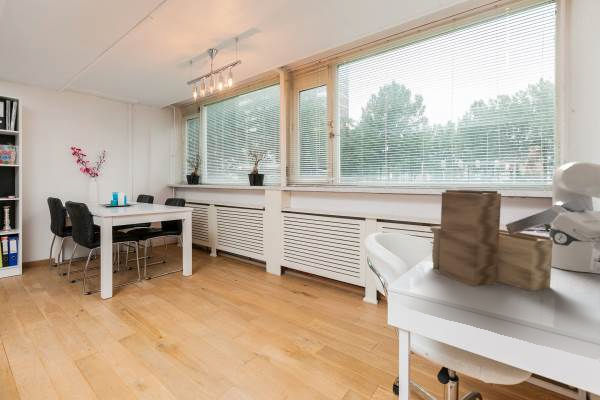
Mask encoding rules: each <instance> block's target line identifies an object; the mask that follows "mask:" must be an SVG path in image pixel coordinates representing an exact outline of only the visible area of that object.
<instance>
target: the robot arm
mask: <svg viewBox="0 0 600 400" xmlns="http://www.w3.org/2000/svg"><path fill="white" fill-rule="evenodd" d="M551 198H552V202H551V203H552V207H551V208H552V210H553V211H554V212H556V213H557V214H558V215H557V217H556V218H555V219H554V220H553V222H551V225H550V226H551V227H549V231H548V233H549V234H548V237H551V239H552V240H553V245H552V262H551V268H557V269H561V270H567V271H573V272H579V273H581V272H582V273H590V274H591V273H593V274H599V275H600V210H594V206H593V204H594V203H593V198H596V199H600V164H598V163H593V162H588V161H584V160H582V161H581V160H580V161H579V160H578V161H577V160H576V161H572V162H569V163H565V164H562V165H560V166H559V167H558V168H556V170H554V172H553V175H552V197H551ZM576 199H585V201H586V203H587V204H588V206H589V208H590V210H587V211H584V212H570V211H567V210H566V209H564V208H565V207H563V206H561V205H562V204H565V203H568V202H570V201H573V200H576Z"/></svg>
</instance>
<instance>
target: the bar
mask: <svg viewBox="0 0 600 400" xmlns="http://www.w3.org/2000/svg"><path fill="white" fill-rule="evenodd" d="M561 206H563V207H565V208H564V209H566V210H567V211H570V212H584V211H587V210H590V208H589V206H588V204H587V203H586V201H585V199H576V200H573V201H570V202H568V203H565V204H562V205H561ZM557 215H558V214H557V213H556V212H554V211H553V210H552V207H551V208H549V209H546V210H543V211H540V212H537V213H535V214H532V215H530V216H527V217H526V216H525V217H524V218H520V219H518V220H516V221H513V222H510V223H508V224H505V228H506V230H508V232H509V234H516V233H519V232H521V233H523V232H525V231H528V230H531V229H534V228H537V227H540V226H543V225H547V224H549V223H552V222H553V220H554V219H555V218H556V217H557Z"/></svg>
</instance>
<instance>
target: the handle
mask: <svg viewBox="0 0 600 400" xmlns="http://www.w3.org/2000/svg"><path fill="white" fill-rule="evenodd" d="M430 232H431V233H432V234H433V239H432V240H433V242H432V251H431V252H432V256H431V257H432V267H433V268H434V269H438V270H439V261H440V234H441V225H439V226H438V225H436V226H435V225H433V226H430Z"/></svg>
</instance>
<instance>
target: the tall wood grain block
mask: <svg viewBox="0 0 600 400" xmlns="http://www.w3.org/2000/svg"><path fill="white" fill-rule="evenodd" d="M501 203H502V193H499V192H498V190H475V189H457V190H456V189H445V192H444V191H443V192H441V209H440V210H441V213H440V214H441V215H440V226H441V234H440V261H439V269H438V275H439V274H440V275H441V276H444V277H447V278H449V279H453V280H455V281H458V282H460V283H462V284H466V285H467V286H470V287H473V288H474V287H480V286H485V285H492V284H493V285H494V284H497V283H498V280H497V268H498V248H499V229H500V227H501V225H500V224H501V207H502V206H501V205H502V204H501Z"/></svg>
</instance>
